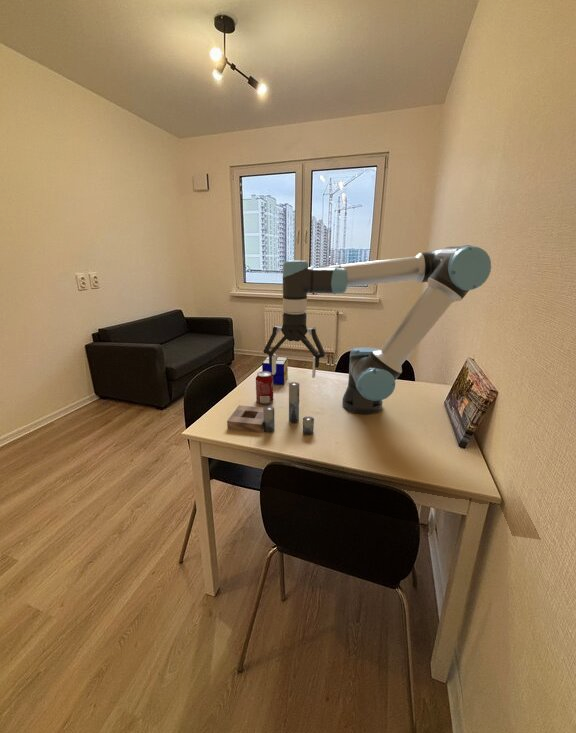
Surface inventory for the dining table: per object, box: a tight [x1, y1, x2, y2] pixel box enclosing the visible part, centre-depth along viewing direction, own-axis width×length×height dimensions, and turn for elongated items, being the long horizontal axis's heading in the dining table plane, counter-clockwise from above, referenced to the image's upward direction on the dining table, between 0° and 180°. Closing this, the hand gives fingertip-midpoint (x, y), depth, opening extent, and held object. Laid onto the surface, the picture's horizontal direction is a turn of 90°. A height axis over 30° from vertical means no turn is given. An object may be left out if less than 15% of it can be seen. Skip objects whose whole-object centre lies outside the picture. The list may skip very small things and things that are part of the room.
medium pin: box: [263, 405, 276, 434], centre depth 107 cm, size 4×4×8 cm
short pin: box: [302, 416, 315, 436], centre depth 106 cm, size 4×4×5 cm
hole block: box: [226, 404, 264, 433], centre depth 113 cm, size 12×12×3 cm
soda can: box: [255, 371, 274, 405], centre depth 127 cm, size 7×7×12 cm
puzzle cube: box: [261, 356, 289, 386], centre depth 149 cm, size 10×10×10 cm
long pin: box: [288, 381, 300, 424], centre depth 112 cm, size 4×4×14 cm
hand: (293, 374), depth 109 cm, fingers open, 13 cm apart
